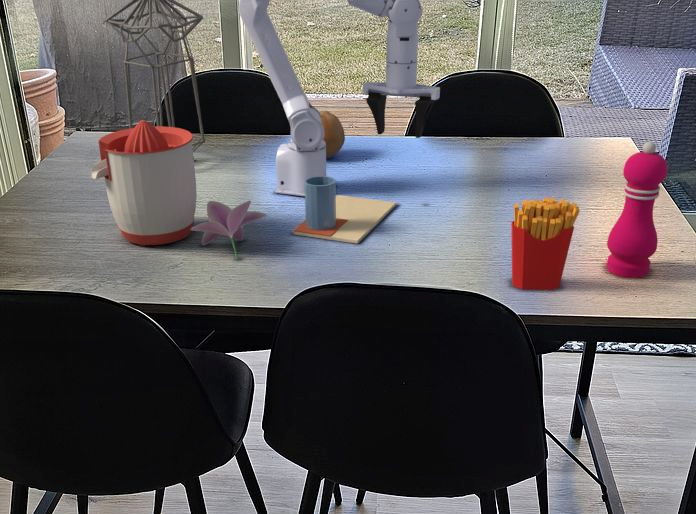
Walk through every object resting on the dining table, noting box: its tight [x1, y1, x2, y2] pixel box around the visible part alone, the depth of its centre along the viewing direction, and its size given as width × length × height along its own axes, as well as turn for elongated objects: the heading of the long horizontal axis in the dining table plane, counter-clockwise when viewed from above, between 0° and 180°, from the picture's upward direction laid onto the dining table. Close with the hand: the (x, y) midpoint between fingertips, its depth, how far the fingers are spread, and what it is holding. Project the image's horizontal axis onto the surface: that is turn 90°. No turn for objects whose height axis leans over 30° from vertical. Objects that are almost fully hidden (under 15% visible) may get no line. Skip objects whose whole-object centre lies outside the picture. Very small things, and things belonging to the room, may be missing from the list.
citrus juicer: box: [91, 119, 198, 247], centre depth 140 cm, size 16×17×20 cm
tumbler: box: [304, 175, 337, 230], centre depth 144 cm, size 5×5×8 cm
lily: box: [190, 200, 267, 260], centre depth 136 cm, size 12×12×10 cm
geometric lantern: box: [102, 0, 206, 159], centre depth 172 cm, size 16×16×35 cm
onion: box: [319, 110, 346, 160], centre depth 180 cm, size 10×10×10 cm
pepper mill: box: [605, 141, 668, 279], centre depth 124 cm, size 7×7×20 cm
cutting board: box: [292, 194, 397, 245], centre depth 150 cm, size 12×20×1 cm, turn 157°
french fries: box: [510, 196, 581, 291], centre depth 122 cm, size 9×4×13 cm, turn 85°
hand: (399, 134), depth 159 cm, fingers open, 7 cm apart
